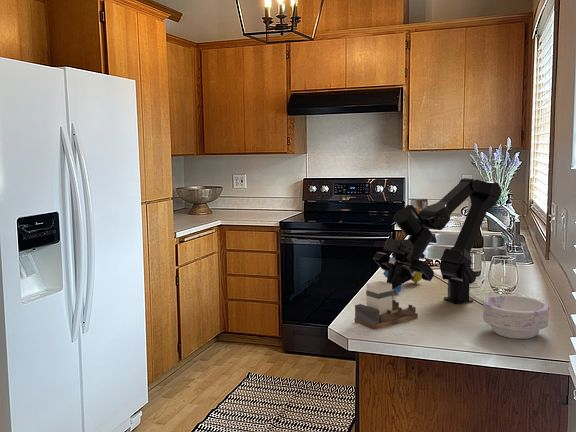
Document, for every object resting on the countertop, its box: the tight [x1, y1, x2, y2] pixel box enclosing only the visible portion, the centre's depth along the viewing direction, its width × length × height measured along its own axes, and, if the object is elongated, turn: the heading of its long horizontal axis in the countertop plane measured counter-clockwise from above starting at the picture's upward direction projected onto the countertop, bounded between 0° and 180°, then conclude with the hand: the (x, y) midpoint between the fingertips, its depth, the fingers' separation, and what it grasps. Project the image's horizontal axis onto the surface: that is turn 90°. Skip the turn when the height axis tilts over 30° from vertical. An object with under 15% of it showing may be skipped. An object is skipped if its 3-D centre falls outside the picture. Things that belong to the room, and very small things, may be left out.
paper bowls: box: [482, 294, 550, 340], centre depth 141 cm, size 15×15×8 cm
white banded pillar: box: [365, 280, 393, 315], centre depth 153 cm, size 5×5×9 cm
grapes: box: [382, 256, 403, 294], centre depth 184 cm, size 12×7×12 cm, turn 176°
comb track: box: [353, 299, 419, 331], centre depth 154 cm, size 16×8×5 cm, turn 124°
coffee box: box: [410, 198, 429, 213], centre depth 318 cm, size 9×6×16 cm
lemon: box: [411, 272, 423, 284], centre depth 193 cm, size 6×6×8 cm
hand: (386, 290), depth 154 cm, fingers closed, pressing on white banded pillar
